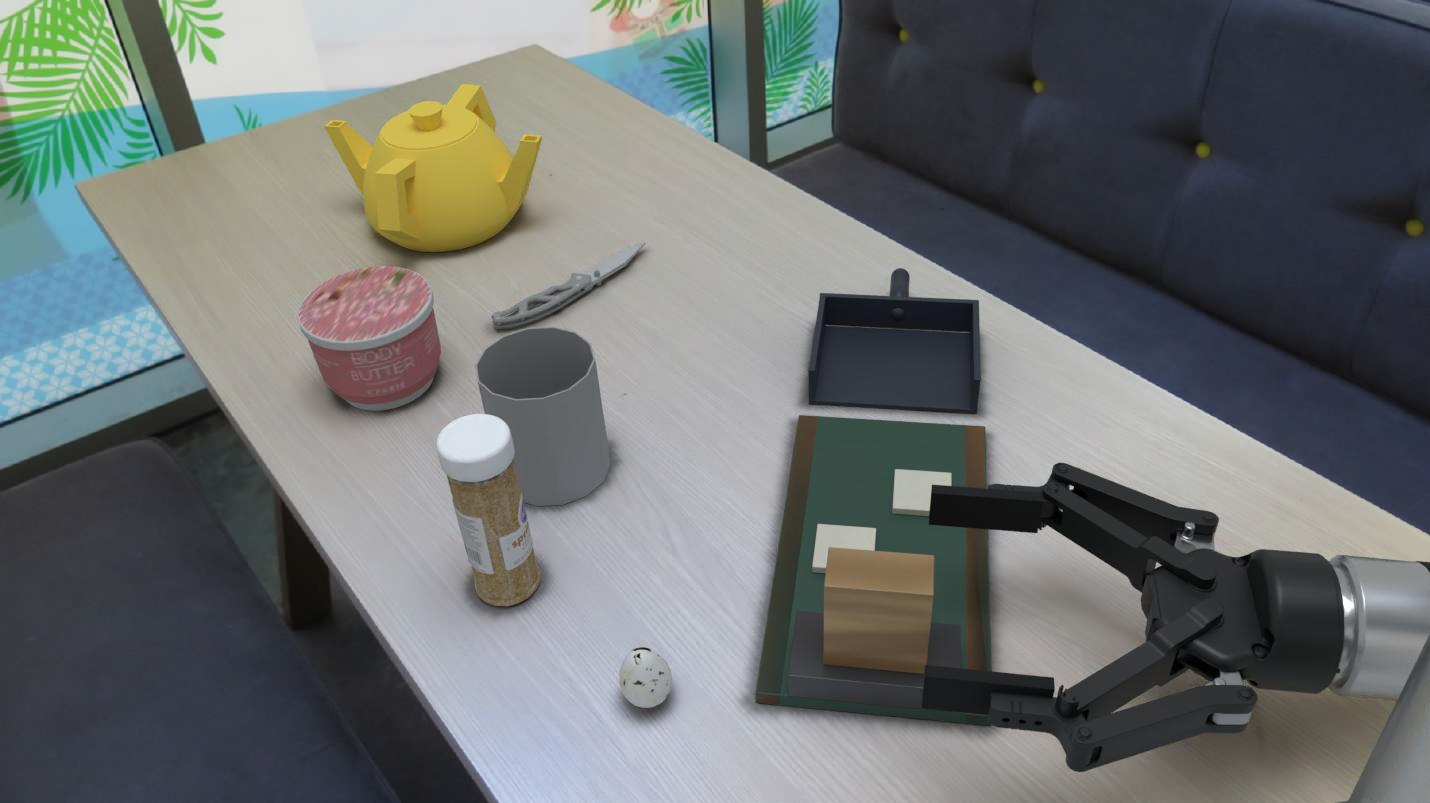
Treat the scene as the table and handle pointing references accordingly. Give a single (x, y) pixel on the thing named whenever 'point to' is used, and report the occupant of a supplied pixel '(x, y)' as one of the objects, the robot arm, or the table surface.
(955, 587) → the chalkboard
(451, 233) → the teapot
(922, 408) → the dustpan
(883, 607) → the eraser
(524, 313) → the knife
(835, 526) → the white flat square block
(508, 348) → the cup
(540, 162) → the table surface
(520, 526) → the sprinkles bottle
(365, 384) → the container
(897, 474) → the smudge
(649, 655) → the egg
